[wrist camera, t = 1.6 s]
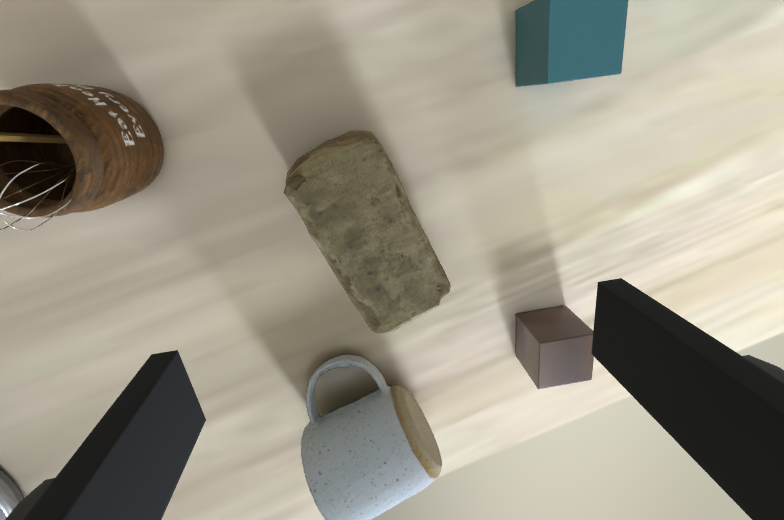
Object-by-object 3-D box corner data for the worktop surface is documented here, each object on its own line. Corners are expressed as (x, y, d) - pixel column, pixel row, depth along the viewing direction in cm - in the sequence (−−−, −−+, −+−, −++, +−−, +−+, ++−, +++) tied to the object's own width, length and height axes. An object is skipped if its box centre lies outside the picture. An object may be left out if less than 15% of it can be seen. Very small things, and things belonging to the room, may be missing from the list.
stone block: (372, 306, 28) (377, 346, 24) (282, 165, 24) (267, 179, 19) (444, 269, 28) (463, 302, 23) (365, 117, 23) (369, 120, 19)
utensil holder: (150, 211, 24) (-18, 304, 13) (36, 160, 22) (-271, 217, 11) (183, 122, 22) (24, 143, 11) (63, 60, 21) (-266, 11, 9)
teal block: (515, 86, 24) (547, 83, 20) (515, 10, 22) (549, -9, 18) (578, 78, 24) (621, 73, 20) (583, 1, 22) (630, -19, 19)
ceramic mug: (435, 420, 33) (459, 506, 26) (352, 462, 34) (353, 557, 26) (373, 328, 29) (381, 399, 22) (280, 378, 30) (259, 463, 23)
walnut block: (515, 356, 31) (538, 390, 28) (515, 313, 30) (539, 343, 26) (563, 347, 31) (592, 380, 28) (565, 305, 30) (596, 333, 26)
